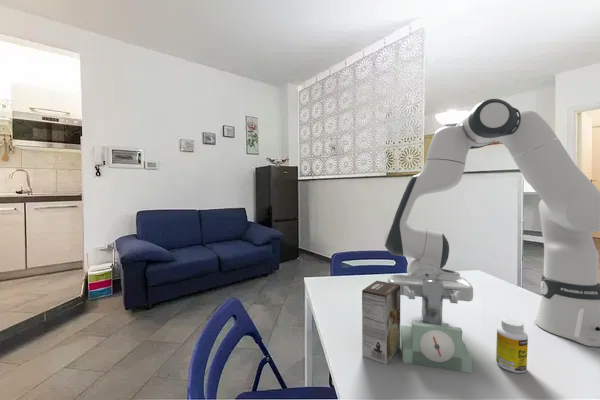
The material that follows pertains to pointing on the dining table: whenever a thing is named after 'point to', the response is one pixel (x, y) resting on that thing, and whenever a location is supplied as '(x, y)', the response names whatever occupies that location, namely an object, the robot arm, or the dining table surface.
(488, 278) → the dining table surface
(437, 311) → the cylinder
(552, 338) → the dining table surface
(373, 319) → the coffee box
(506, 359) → the supplement bottle
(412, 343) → the scale
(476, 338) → the dining table surface
